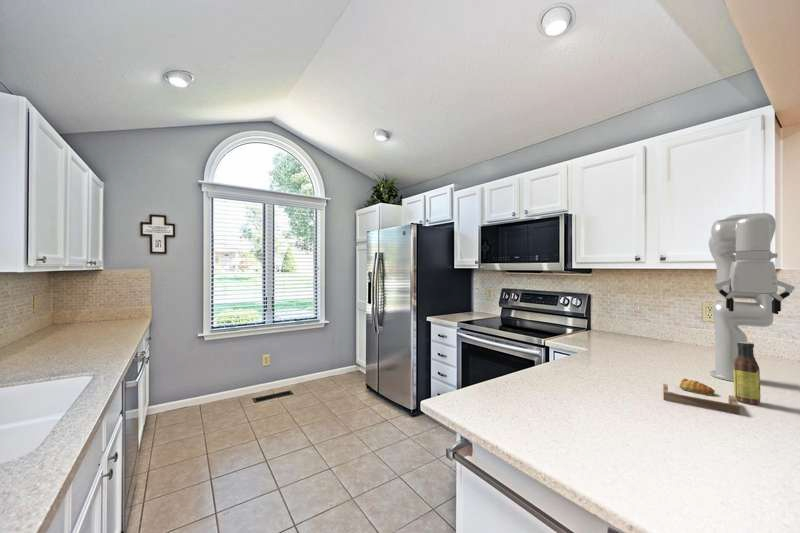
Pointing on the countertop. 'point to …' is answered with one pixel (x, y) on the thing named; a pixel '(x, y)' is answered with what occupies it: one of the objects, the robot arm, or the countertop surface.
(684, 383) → the pastry
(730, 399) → the open wooden frame
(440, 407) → the countertop surface
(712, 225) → the robot arm
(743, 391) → the sauce bottle
